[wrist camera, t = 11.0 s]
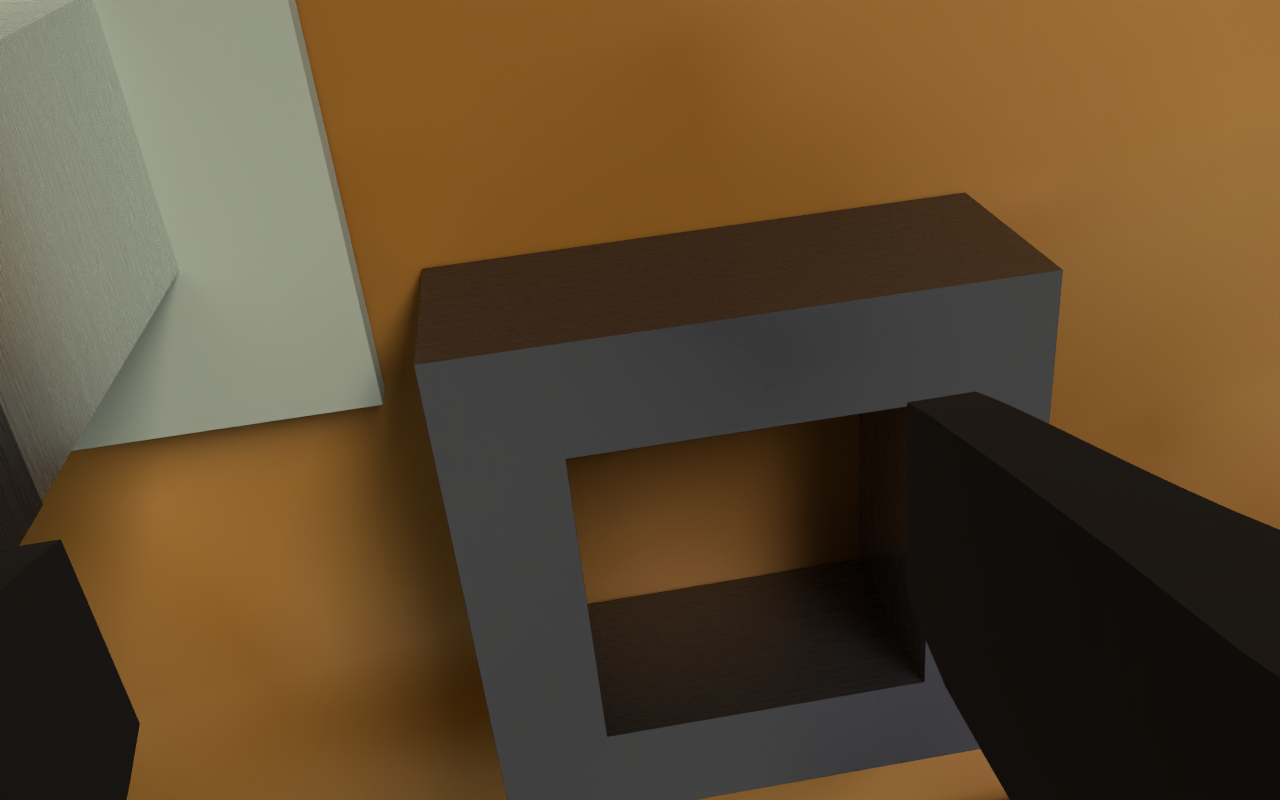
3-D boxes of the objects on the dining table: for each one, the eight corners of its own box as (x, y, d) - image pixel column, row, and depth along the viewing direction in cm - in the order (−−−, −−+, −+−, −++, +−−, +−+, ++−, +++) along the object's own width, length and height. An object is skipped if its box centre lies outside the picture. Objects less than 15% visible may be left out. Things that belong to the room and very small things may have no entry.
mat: (384, 388, 19) (382, 404, 19) (-174, 470, 18) (-192, 490, 18) (244, -221, 15) (235, -223, 14) (-493, -143, 14) (-530, -140, 14)
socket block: (946, 616, 23) (1020, 741, 20) (507, 690, 22) (514, 831, 19) (965, 193, 19) (1062, 269, 16) (422, 268, 18) (414, 364, 15)
